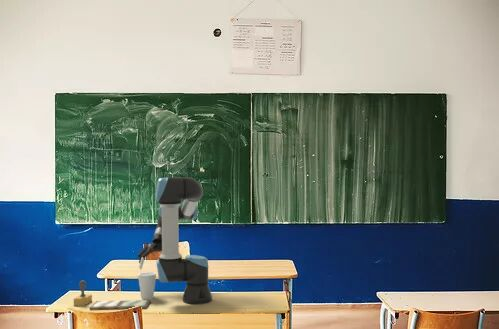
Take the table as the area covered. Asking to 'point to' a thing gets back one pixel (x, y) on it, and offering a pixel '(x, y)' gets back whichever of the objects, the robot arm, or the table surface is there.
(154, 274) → the foam cup
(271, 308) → the table surface
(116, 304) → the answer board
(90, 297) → the rubber stamp
